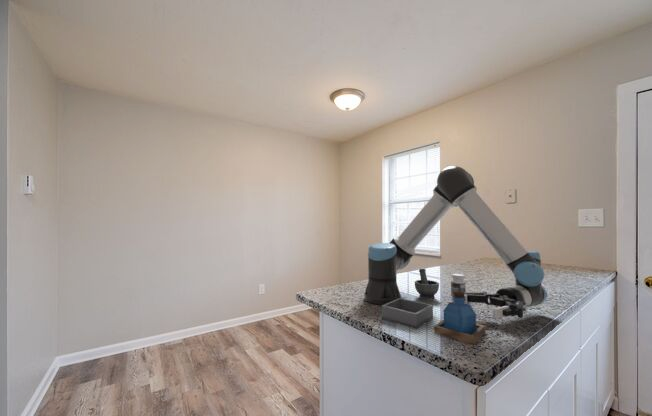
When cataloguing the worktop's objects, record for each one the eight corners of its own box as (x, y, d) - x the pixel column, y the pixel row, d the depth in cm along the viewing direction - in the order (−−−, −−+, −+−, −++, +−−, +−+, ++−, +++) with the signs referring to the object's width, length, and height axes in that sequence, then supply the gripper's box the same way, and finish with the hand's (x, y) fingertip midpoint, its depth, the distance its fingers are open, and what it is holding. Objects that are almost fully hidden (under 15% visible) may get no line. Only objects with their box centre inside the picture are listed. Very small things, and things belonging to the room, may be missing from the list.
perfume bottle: (461, 338, 79) (460, 296, 80) (443, 330, 85) (443, 291, 85) (476, 335, 82) (475, 294, 82) (458, 327, 87) (457, 289, 88)
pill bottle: (448, 296, 122) (447, 274, 122) (457, 295, 124) (457, 273, 124) (459, 300, 117) (458, 276, 117) (468, 298, 119) (468, 275, 119)
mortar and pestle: (442, 301, 114) (442, 272, 115) (420, 301, 114) (420, 272, 115) (431, 294, 126) (431, 267, 126) (411, 294, 125) (410, 267, 126)
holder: (434, 333, 83) (434, 326, 83) (447, 323, 91) (447, 316, 91) (474, 344, 75) (474, 337, 75) (485, 332, 83) (485, 325, 83)
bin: (381, 318, 95) (381, 305, 95) (399, 310, 104) (399, 298, 104) (416, 329, 86) (416, 314, 86) (433, 318, 95) (432, 305, 95)
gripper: (556, 321, 83) (515, 334, 74) (478, 299, 106) (439, 307, 96) (555, 296, 84) (514, 306, 74) (478, 280, 106) (439, 286, 96)
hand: (472, 307), depth 85 cm, fingers open, 13 cm apart
